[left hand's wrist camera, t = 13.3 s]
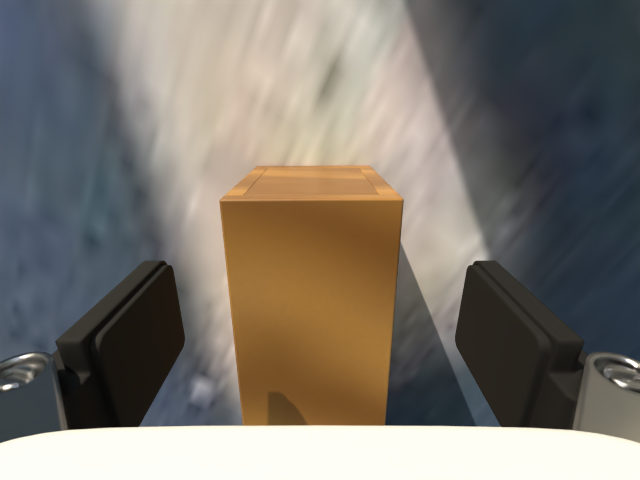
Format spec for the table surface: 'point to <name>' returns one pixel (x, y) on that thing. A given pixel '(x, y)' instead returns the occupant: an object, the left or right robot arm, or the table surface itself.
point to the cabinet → (312, 293)
